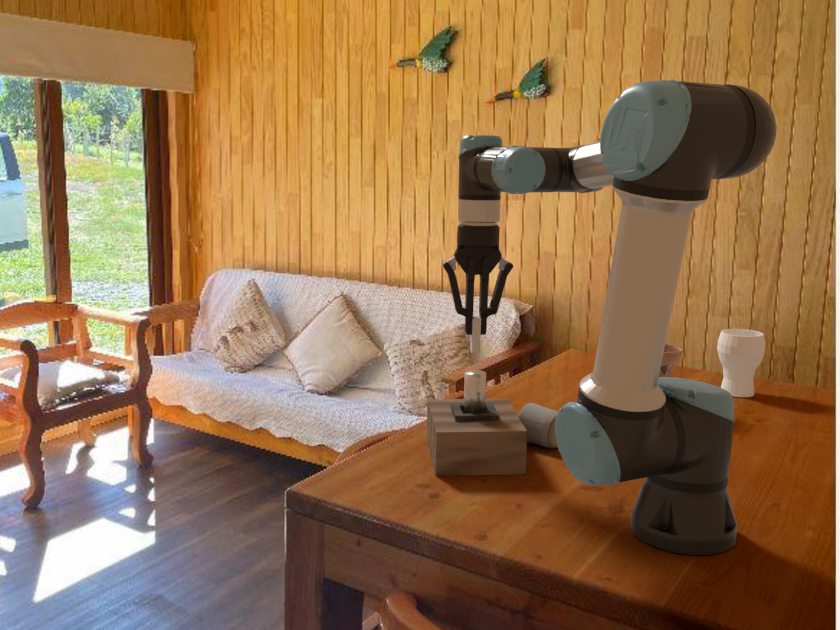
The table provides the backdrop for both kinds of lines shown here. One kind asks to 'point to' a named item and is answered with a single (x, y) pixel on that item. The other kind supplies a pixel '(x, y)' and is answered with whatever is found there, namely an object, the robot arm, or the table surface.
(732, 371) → the cup
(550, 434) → the ceramic mug
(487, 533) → the table surface
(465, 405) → the peg
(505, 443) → the socket block
